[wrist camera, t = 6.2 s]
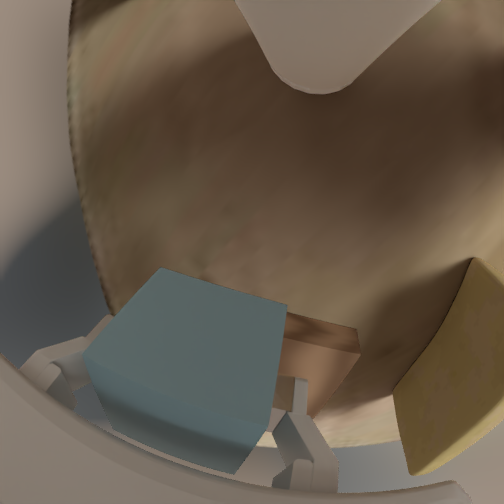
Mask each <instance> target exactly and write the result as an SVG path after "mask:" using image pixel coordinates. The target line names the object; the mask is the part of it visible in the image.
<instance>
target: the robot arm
mask: <svg viewBox="0 0 504 504" xmlns="http://www.w3.org/2000/svg"><path fill="white" fill-rule="evenodd" d="M113 318H114V316H112V315H110V314H108V315H106V316H105V317H104V318H103V319H102V320H101V321H100V322H99V323H98V324H97V325H96V326H95V327H94V328H93V330H92V331H91V332H90V333H89V334H88V335H87V336H86V337H83V336H82V337H79V338H75V339H73V340H69V341H66V342H63V343H59V344H56V345H53V346H49V347H46V348H43V349H39V350H37V351H36V352H35V353H34V354H33V355H32V356H31V357H30V358H29V359H28V360H27V361H26V362H25V364H24V365H23V366H22V367H21V368H20V369H19V370H18V369H17V368H16V367H15V366H14V365H13V364H12V363H11V362H10V361H9V360H8V359H7V358H5V357H4V356H3V355H2V354H1V353H0V504H472V500H471V498H470V497H469V495H468V494H467V493H466V492H465V490H464V489H463V488H462V487H461V486H460V485H459V484H458V483H457V482H456V481H452V480H450V481H444V482H440V483H435V484H431V485H426V486H420V487H414V488H408V489H400V490H391V491H381V492H365V493H337V490H338V471H339V461H338V460H337V458H336V457H335V455H334V454H333V452H332V451H331V449H330V447H329V446H328V444H327V442H326V441H325V439H324V438H323V436H322V434H321V433H320V431H319V430H318V428H317V426H316V425H315V423H314V421H313V420H312V418H311V417H310V416H309V415H306V412H307V396H308V380H307V379H303V378H299V377H294V376H291V375H286V374H282V373H278V374H277V380H276V386H275V392H274V398H273V403H272V409H271V415H270V420H269V425H268V428H267V429H266V431H267V432H272V435H273V437H274V440H275V442H276V444H277V447H278V449H279V451H280V454H281V456H282V458H283V461H284V463H285V466H286V469H284V470H283V471H282V472H280V473H279V474H278V475H277V476H275V477H274V478H273V481H272V487H266V486H260V485H255V484H250V483H245V482H240V481H236V480H232V479H227V478H223V477H219V476H216V475H212V474H208V473H205V472H202V471H199V470H196V469H193V468H190V467H187V466H184V465H181V464H178V463H175V462H173V461H170V460H167V459H165V458H162V457H160V456H157V455H154V454H152V453H150V452H148V451H145V450H143V449H141V448H139V447H137V446H134V445H132V444H130V443H128V442H126V441H124V440H122V439H120V438H118V437H116V436H114V435H112V434H111V433H109V432H107V431H105V430H103V429H101V428H100V427H98V426H96V425H94V424H93V423H91V422H89V421H88V420H86V419H85V418H83V417H81V416H80V415H78V414H77V413H75V412H73V410H74V408H75V407H76V405H77V400H76V399H75V397H74V395H73V393H72V391H74V390H76V389H79V388H81V387H83V386H85V385H87V384H89V383H91V382H92V381H91V378H90V376H89V373H88V371H87V368H86V365H85V362H84V359H83V356H82V353H83V352H84V351H85V350H86V349H87V347H88V346H89V345H90V344H91V343H92V342H93V340H94V339H95V338H96V337H97V336H98V335H99V333H100V332H101V331H102V330H103V329H104V328H105V327H106V325H107V324H108V323H109V322H110V321H111V320H112V319H113Z"/></svg>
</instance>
